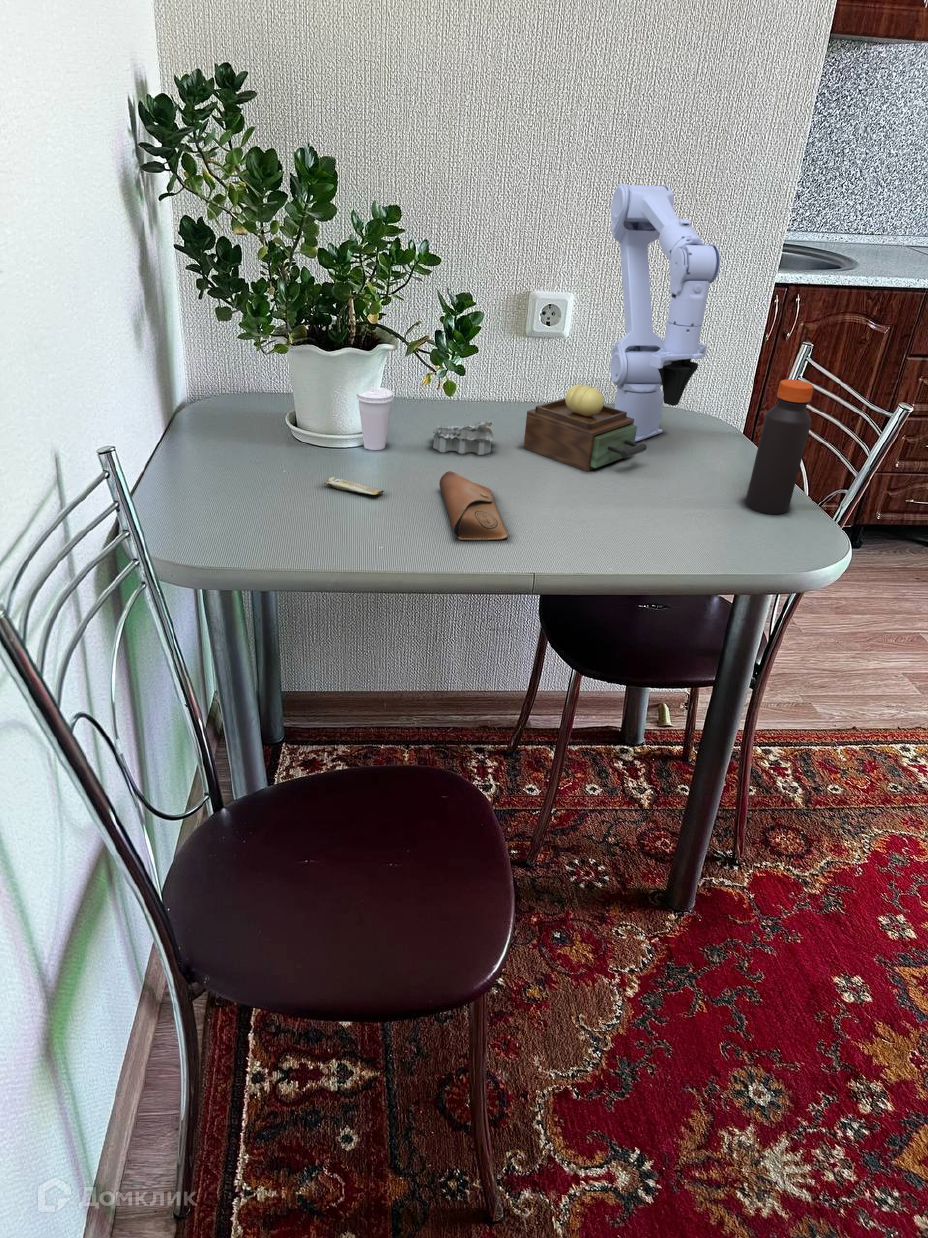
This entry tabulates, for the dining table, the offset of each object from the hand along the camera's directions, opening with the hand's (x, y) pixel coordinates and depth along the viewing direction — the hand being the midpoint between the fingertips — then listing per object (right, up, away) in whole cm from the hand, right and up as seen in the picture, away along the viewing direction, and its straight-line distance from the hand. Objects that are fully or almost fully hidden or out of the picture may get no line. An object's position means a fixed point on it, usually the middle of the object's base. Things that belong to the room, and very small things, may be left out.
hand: (670, 403), depth 155 cm
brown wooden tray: (-15, -1, +3) cm, 16 cm away
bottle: (+13, -19, -10) cm, 25 cm away
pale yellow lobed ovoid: (-15, -1, +3) cm, 16 cm away
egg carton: (-36, -7, +5) cm, 37 cm away
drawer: (-13, -8, +4) cm, 16 cm away
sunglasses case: (-35, -22, -20) cm, 45 cm away
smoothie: (-52, -7, +3) cm, 52 cm away
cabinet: (-16, -7, +7) cm, 18 cm away
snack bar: (-53, -17, -15) cm, 58 cm away
